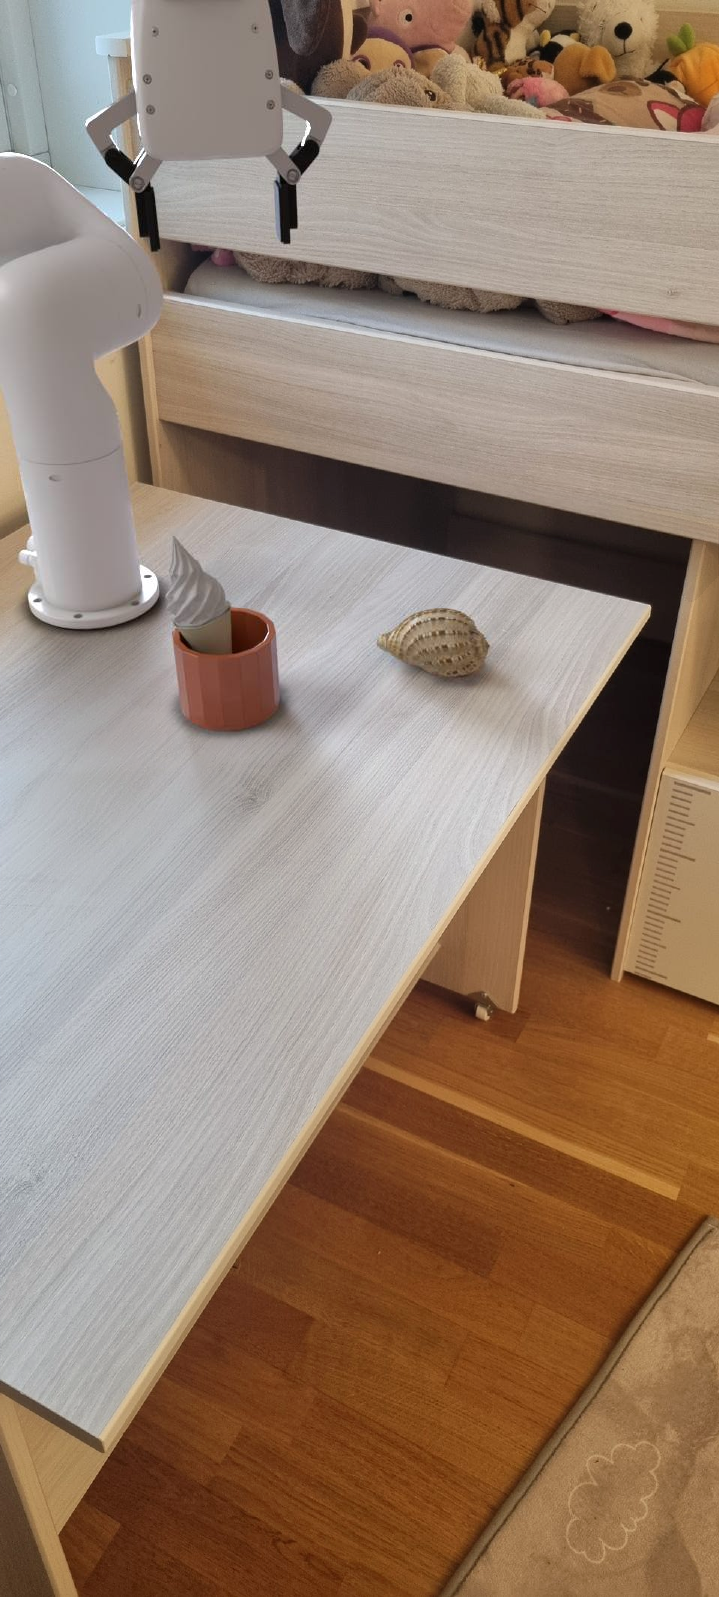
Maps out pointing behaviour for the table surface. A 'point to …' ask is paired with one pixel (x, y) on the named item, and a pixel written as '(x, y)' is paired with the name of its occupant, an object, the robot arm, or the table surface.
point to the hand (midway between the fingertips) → (219, 243)
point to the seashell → (438, 643)
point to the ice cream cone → (198, 605)
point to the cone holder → (231, 676)
